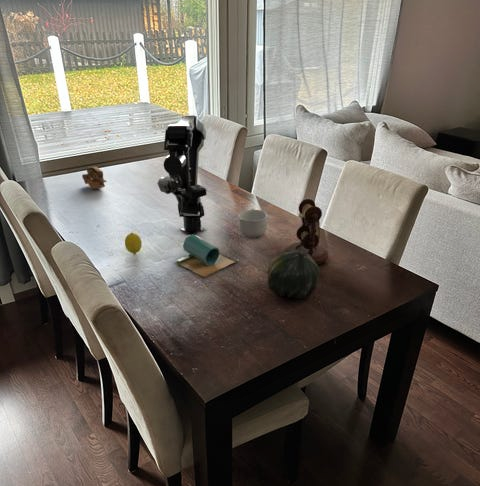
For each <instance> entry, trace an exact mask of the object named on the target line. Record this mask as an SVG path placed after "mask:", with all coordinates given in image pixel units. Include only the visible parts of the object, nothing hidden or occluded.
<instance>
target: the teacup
mask: <svg viewBox="0 0 480 486" xmlns="http://www.w3.org/2000/svg"><path fill="white" fill-rule="evenodd" d="M237 217H238V218H237V219H238V228H239V231H240V233H241V234H243V235H244V236H246V237H248V238H258V237H261V236H263V234H265V233H266V231H267V229H268V217H269V215H268V213H267V211H264V210H261V209H255V208H254V207H252V208H250V209H248V210H247V209H246V210H243V211H242V212H241V211H240V213H239V214H238V215H237Z"/></svg>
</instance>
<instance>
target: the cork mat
mask: <svg viewBox="0 0 480 486" xmlns="http://www.w3.org/2000/svg"><path fill="white" fill-rule="evenodd" d="M235 263H236V261H234V260H233V259H230V258H228V257H226V256H223V255H222V254H219V258H218V260H217V261H216V262H215V263H214V264H213V265H211V266H208V265H206V264H204V263H203V262H201V261H200V260H198V259H197V258H195V257H194V256H192V255H190V254H188V255H185V256H183V257H181V258H179V259H177V260H176V264H177V265H178V266H181V267H182V268H185V269H187V270H189V271H191V272H192V273H194V274H196V275H198V276H200V277H202V278H206V277H207V276H210V275H212V274H214V273H217V272H218V271H220V270H222V269H224V268H227V267H229V266H231V265H233V264H235Z"/></svg>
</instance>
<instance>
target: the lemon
mask: <svg viewBox="0 0 480 486" xmlns="http://www.w3.org/2000/svg"><path fill="white" fill-rule="evenodd" d="M142 243H143V242H142V238H141V237H140V235H138V234H137V233H136V232H130V233H128V234H127V235H126V236H125V239H124V246H125V249H126V250H127V252H129V253H130V254H133V255H136V254H137V253H139V252H140V251H141V250H142Z"/></svg>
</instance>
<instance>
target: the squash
mask: <svg viewBox="0 0 480 486" xmlns="http://www.w3.org/2000/svg"><path fill="white" fill-rule="evenodd" d="M318 265H319V264H316V263H315V261H314V260H313V259H312V257H311V256H310V255H309V254H307V253H305V252H303V251H291V252H286V253H284V252H283V253H281V254H279V255H277V256H276V257H274V258H273V259H272V260H271V262H269V265H268V268H267V285H268V287H269V289H270V290H271V291H272V292H273V293H276V294H278V295H279V296H281V297H285V296H286V297H288V298H294V299H297V300H303V299H304V298H306V297H308V296H310V295H312V293H314V292H315V291H316V288H317V285H318V281H319V278H320V268H319V266H318Z"/></svg>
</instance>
